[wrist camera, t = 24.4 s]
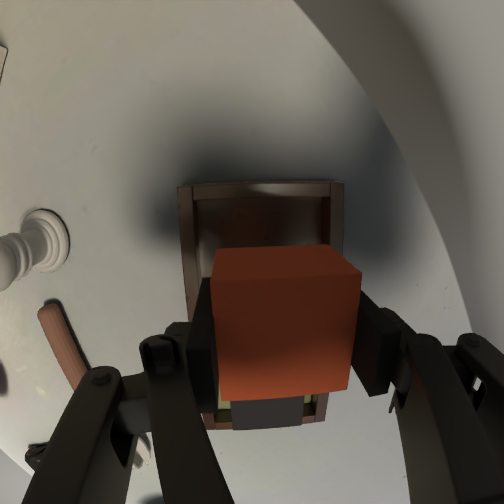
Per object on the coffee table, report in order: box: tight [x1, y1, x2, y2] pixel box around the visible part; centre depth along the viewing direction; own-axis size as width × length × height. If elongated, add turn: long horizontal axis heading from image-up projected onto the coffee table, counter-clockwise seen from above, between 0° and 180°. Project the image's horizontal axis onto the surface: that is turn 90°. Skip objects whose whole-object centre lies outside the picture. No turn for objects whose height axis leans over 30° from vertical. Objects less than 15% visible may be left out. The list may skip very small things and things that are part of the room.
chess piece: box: [0, 210, 69, 291], centre depth 18 cm, size 5×5×9 cm
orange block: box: [210, 244, 362, 401], centre depth 14 cm, size 6×6×4 cm
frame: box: [177, 181, 344, 430], centre depth 24 cm, size 11×21×3 cm, turn 2°
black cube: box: [230, 395, 305, 430], centre depth 23 cm, size 6×6×4 cm
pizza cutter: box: [37, 304, 151, 469], centre depth 25 cm, size 20×6×3 cm, turn 13°
